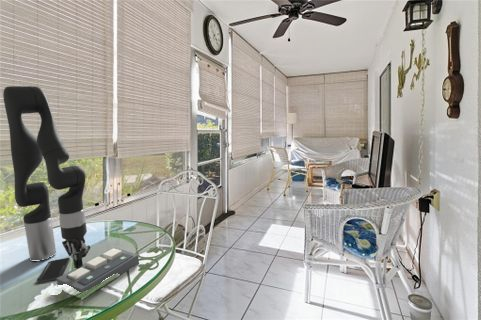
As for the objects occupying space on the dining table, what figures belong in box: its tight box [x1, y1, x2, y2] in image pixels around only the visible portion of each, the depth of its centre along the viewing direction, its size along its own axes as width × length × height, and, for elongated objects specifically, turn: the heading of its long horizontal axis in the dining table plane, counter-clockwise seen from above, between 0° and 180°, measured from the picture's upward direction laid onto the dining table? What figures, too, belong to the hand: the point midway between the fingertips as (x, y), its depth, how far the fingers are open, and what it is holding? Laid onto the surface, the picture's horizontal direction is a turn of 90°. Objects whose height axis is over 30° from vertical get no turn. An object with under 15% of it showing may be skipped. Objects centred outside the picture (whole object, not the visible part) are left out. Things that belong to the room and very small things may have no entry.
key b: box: [85, 255, 107, 270], centre depth 100 cm, size 5×5×2 cm
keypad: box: [56, 247, 140, 292], centre depth 99 cm, size 14×24×4 cm, turn 154°
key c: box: [102, 247, 122, 261], centre depth 106 cm, size 5×5×2 cm
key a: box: [68, 267, 90, 281], centre depth 93 cm, size 5×5×2 cm
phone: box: [36, 257, 71, 284], centre depth 103 cm, size 8×1×15 cm
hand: (78, 267), depth 93 cm, fingers closed
